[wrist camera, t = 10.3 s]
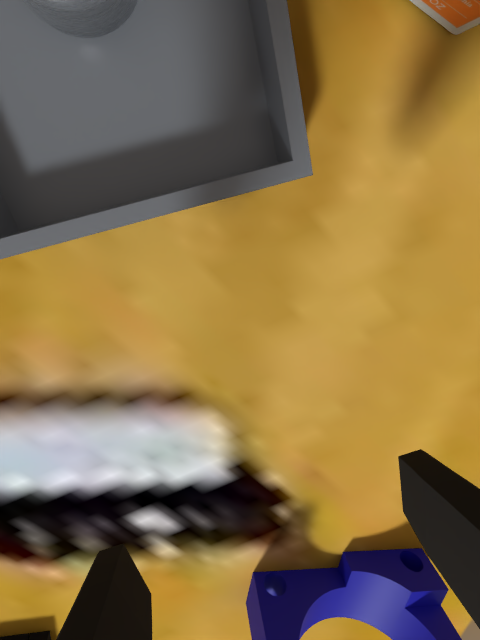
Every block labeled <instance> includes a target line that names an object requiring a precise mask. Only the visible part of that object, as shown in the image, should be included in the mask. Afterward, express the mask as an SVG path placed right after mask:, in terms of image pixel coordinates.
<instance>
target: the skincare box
mask: <svg viewBox="0 0 480 640" xmlns="http://www.w3.org/2000/svg"><path fill="white" fill-rule="evenodd" d="M410 1H411V2H412V3H413V4H415V5H416V6H417V7H418V8H420V9H421V10H422V11H424V12H425V13H426V14H428V15H429V16H430V17H432V18H433V19H434V20H435V21H437V22H438V23H439V24H441V25H442V26H443V27H445V28H446V29H447V30H448V31H449V32H451V33H452V34H455V35H457V34H460V33H462V32H464V31H466V30H468V29H470V28H473V27H475V26H477V25H479V24H480V0H410Z"/></svg>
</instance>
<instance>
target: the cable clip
mask: <svg viewBox="0 0 480 640" xmlns="http://www.w3.org/2000/svg"><path fill="white" fill-rule="evenodd" d="M447 591H448V588H447V586H446V585H445V583H444V582H443V580H442V579H441V577H440V576H439V574H438V573H437V571H436V570H435V568H434V567H433V565H432V563H431V562H430V560H429V559H428V557H427V556H426V554H425V553H424V551H423V550H422V548H416V549H395V550H374V551H352V552H343V554H342V557H341V560H340V563H339V566H338V568H320V569H302V570H284V571H267V572H253V575H252V579H251V584H250V588H249V592H248V597H247V601H246V605H247V612H248V618H249V624H250V630H251V636H252V640H299V639H300V638H301V637H302V635H303V634H304V633H305V632H306V631H307V630H308V629H309V628H310V627H311V626H312V625H314V624H316V623H317V622H319V621H322V620H324V619H328V618H333V617H347V618H353V619H356V620H360V621H362V622H365V623H367V624H369V625H371V626H373V627H375V628H377V629H379V630H380V631H382V632H383V633H385V634H386V635H387V636H389V637H390V638H391V639H392V640H462V639H461V638H460V636H459V634H458V633H457V631H456V629H455V628H454V626H453V625H452V623H451V621H450V620H449V618H448V616H447V615H446V613H445V611H444V610H443V608H442V607H441V603H442V601H443V599H444V597H445V595H446V593H447Z"/></svg>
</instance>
